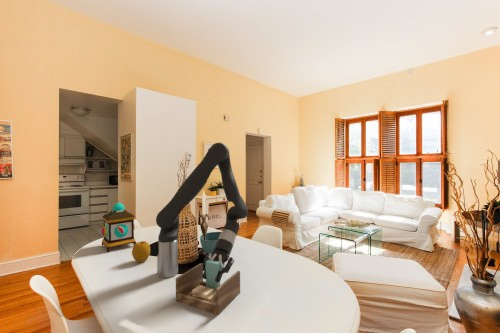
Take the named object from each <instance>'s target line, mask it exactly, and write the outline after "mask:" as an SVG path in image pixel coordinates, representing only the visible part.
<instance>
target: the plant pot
mask: <svg viewBox="0 0 500 333" xmlns="http://www.w3.org/2000/svg"><path fill="white" fill-rule="evenodd" d="M221 232H222V231H210V232H206V240H204V237H203V234H201V235H200V236H199V241H200V246H201V248H202V250H203V252H204V254H206V253H208V254H212V252H213V251H214V248H215V245H216V243H217V241H218V238H219V236H220V234H221ZM211 258H212V257H211Z"/></svg>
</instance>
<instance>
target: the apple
mask: <svg viewBox="0 0 500 333" xmlns="http://www.w3.org/2000/svg"><path fill="white" fill-rule="evenodd" d="M131 255H132V258H133V260H134V262H136V263H144V262H146V261H148V258H149V257H150V255H151V246H150V244H149V243H148V242H147V241H144V240H143V241H138V242H137V241H136V244H135V245H134V246H133V247H132V250H131Z"/></svg>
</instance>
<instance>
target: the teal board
mask: <svg viewBox="0 0 500 333" xmlns="http://www.w3.org/2000/svg"><path fill="white" fill-rule="evenodd" d="M219 268H220V262H217V261H213V260H210V259H209V260H208V261H206V279H205V282H206V287H208V288H211V289H214V290H216V289H217V288H218V287H219V286H220V285H221V280H220V281H219V282H216V281H215V279H216V276H217V274H218V271H219Z"/></svg>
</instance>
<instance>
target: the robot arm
mask: <svg viewBox="0 0 500 333" xmlns="http://www.w3.org/2000/svg"><path fill="white" fill-rule="evenodd" d="M217 166H218V168H219V172H220V176H221V182H222V189H223V192H224V194H225V199H226V200H227V201H228V203H229V202H230V203H232V204H233V205H232V206H230V207H229V208H228V211H227V213H226V217H225V223H224V225H223V226H224V227H223V228H222V231H220V232H221V234H220V236H219V238H218V241H217V243H216V245H215V248H214V251H213V252H212V254H208V253H204V254H205V255H204V258H203V261H202V262H203V268H204V270H203V280H206V261H208V260H213V261H217V262H220V268H219V271H218V274H217V276H216V279H215V281H216V282H219V281H220V282H221V280H222V278H223V275H224V274H228V273H229V272H230V270H231V268H232V266H233V265H234V262H235V259H234V258H233V256H231V257H230V255H231V252H232V250H233V247H234V246H235V242H236V240H237V239H236V238H237V236H238V233H239V230H240V226H241V225H240V224H239V222H238V220H243V219H246V217H247V216H248V214H249V208H248V206H247V204H246V202H245V201H244V199H243V196H241V194H240V190H239V187H238V184H237V181H236V179H235V174H234V172H233V168H232V163H231V157H230V150H229V147H228V146H227V145H225V144H224V143H223V142H216V143H213V144H212V145H210V147H209V149H208V151H207V152H206V153H205V155H204V157H203V158H202V160H201V161H200V162H199V164H198V165H197V166H196V167H195V168H194V169H193V171H192V172H190V174H189V175H188V176H187V178H185V180H184V181H183V182H182V184H181V185H180V187H179V188H178V189H177V191H176V193H175V194H174V196H172V198H171V200H170V201H169V202H168V203H167V204H166V205H165V206H164V207H163V208H162V209H161V210H160V211H159V212H158V213H157V215H156V216H155V217H156V218H155V223H156V225H157V226H158V227H159V228H160V232H159V234H158V254H157V256H156V260H157V262H156V263H157V264H156V272H157V275H158V276H159V278H162V279H165V278H172V277H175V276H177V275H178V273H179V250H178V249H179V247H178V246H179V245H178V244H179V242H178V241H179V238H178V237H179V229H180V216H179V215H180V214H181V212H182V211H183V210H184V209H185V207H186V206H187V205H189V204H190V203H191V202H192V201H193V200H194V199H195V198H196V197H197V196H198V194H199V193H200V192H201V191H202V189H204V187H205V186H206V184H207V182H208V180H209V178H210V176H211V174H212V172H213V171H214V169H215V168H216V167H217ZM211 257H212V258H211Z"/></svg>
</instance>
